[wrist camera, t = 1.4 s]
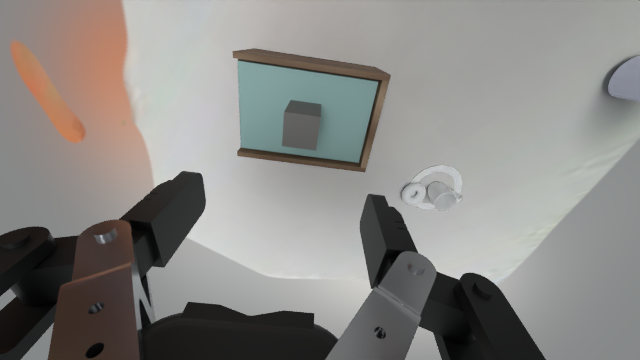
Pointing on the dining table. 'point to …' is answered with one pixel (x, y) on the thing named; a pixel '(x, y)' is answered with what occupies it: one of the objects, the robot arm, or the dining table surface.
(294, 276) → the dining table surface
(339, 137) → the cover plate
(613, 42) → the dining table surface
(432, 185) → the teacup and saucer
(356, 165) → the box
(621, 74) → the perfume bottle
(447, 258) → the dining table surface
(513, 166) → the dining table surface
